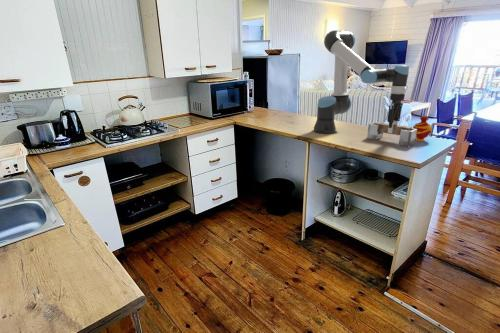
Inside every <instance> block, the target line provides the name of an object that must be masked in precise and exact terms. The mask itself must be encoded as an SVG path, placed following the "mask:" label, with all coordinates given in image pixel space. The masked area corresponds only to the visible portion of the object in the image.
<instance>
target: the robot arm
mask: <svg viewBox="0 0 500 333" xmlns="http://www.w3.org/2000/svg"><path fill="white" fill-rule="evenodd" d="M355 43H356V38H355V34H353V32H352V31H348V30H335V29H334V30H331V31H329V32H328V33H327V34H326V35H325V37H324V40H323V44H324V45H323V46H324V47H325V49H326V50H327V51H328V52H329V53H330V54H332V55H334V74H333V76H334V77H333V93H331V95H328V96H322V97H320V98H318V101H317V111H316V114H317V115H316V121H315V124H314V126H313V132H315V133H317V134H324V135H330V134H334V133H336V131H337V127H336V124H335V123H336V122H335V116H336V115H342V114H345V113H347V112H349V111H350V110H351V108H352V99H351V98H350V97H349V96H350V95H349V93H348V92H347V91H348V90H347V88H348V87H347V86H348V72H349V70H348V69H349V68H351V69H352V70H353V71H354V72H355V73H357V75H359V76H360V79H361V80H360V81H361V82H362V83H363V84H366V85H367V84H368V85H370V84H376V83H391V88H390V96H389V100H391V104H390V105H389V104H388V112H387V119H386V122H387V123H388V124H389V126H388V132H387V133H386V134H388V133H393V126H394V125H398V122H400V119H401V114H402V108H403V102H402V101H404V100H405V96H406V90H407V82H408V77H409V70H410V66H409V65H406V64H403V65H399V64H397V65H395V66H394V68H384V67H383V68H382V67H380V68H376V69H375V68H374V67H372V66H371V65H370V64H369V63H368V62H366V61H365V60H364V59H363V58H362V57H360V56H359V55H358V54H357V53H356V52H354V51H353V50H352V49H353V48H354V46H355Z"/></svg>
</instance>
